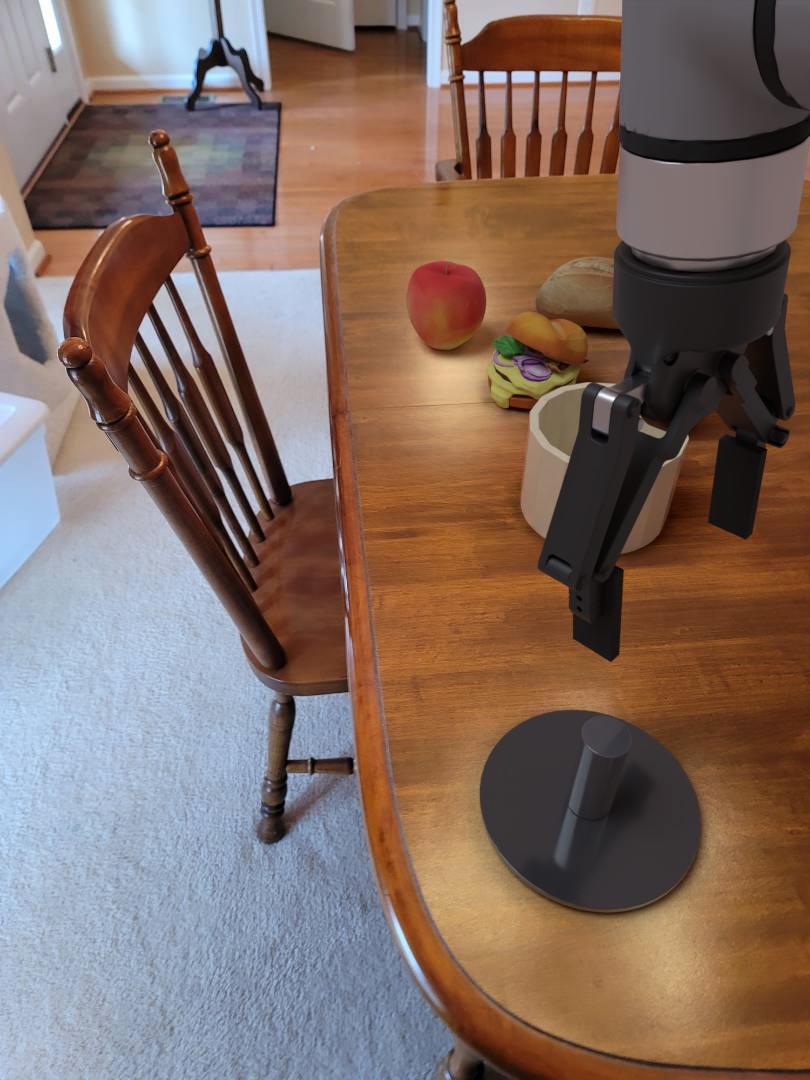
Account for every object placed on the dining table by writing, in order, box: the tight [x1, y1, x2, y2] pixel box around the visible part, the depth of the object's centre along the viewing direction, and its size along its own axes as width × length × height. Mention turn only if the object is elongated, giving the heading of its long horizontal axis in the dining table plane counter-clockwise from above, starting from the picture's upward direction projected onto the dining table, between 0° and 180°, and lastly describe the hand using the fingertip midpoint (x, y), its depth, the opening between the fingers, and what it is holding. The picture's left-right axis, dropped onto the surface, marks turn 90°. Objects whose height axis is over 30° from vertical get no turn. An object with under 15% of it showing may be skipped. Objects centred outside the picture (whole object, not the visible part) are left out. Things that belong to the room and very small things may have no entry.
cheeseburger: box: [486, 310, 591, 410], centre depth 92 cm, size 10×11×10 cm
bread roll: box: [535, 256, 620, 330], centre depth 103 cm, size 10×15×8 cm, turn 80°
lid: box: [478, 709, 702, 913], centre depth 54 cm, size 15×15×9 cm
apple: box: [405, 260, 487, 351], centre depth 98 cm, size 10×10×10 cm
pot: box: [519, 381, 690, 555], centre depth 76 cm, size 14×14×10 cm
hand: (666, 584), depth 51 cm, fingers open, 13 cm apart
